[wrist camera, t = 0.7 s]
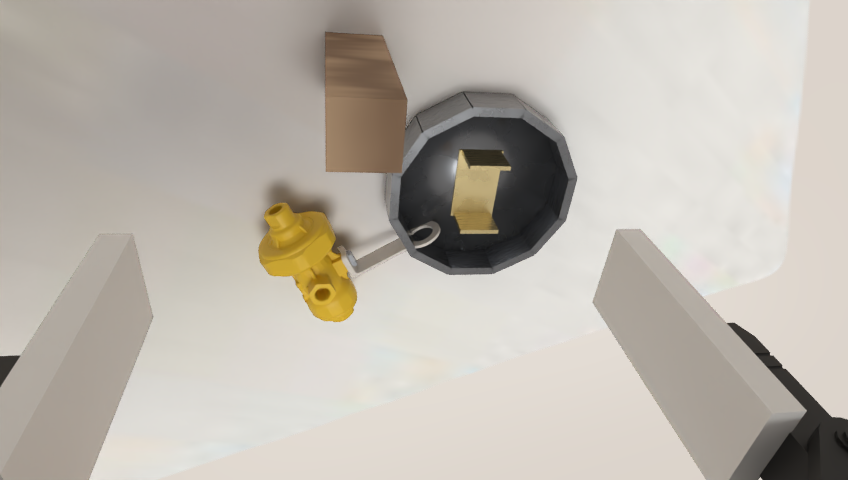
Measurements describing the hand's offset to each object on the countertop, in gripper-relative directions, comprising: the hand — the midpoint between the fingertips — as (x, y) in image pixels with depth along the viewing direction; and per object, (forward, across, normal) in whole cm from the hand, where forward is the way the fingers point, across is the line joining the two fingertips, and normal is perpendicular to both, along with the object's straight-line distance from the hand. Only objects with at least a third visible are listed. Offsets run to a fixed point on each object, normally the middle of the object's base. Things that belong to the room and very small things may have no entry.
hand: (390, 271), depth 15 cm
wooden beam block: (+22, 0, 0) cm, 23 cm away
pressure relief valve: (+22, 0, -12) cm, 26 cm away
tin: (+22, +9, -8) cm, 26 cm away
